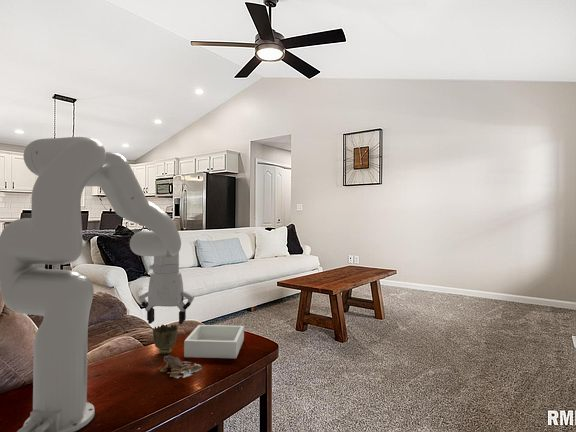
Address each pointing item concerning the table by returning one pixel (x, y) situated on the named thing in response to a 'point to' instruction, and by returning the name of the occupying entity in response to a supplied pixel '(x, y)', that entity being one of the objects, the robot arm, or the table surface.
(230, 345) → the bin
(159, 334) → the embossed bronze vase
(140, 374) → the table surface
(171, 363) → the frog figurine
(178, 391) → the table surface
